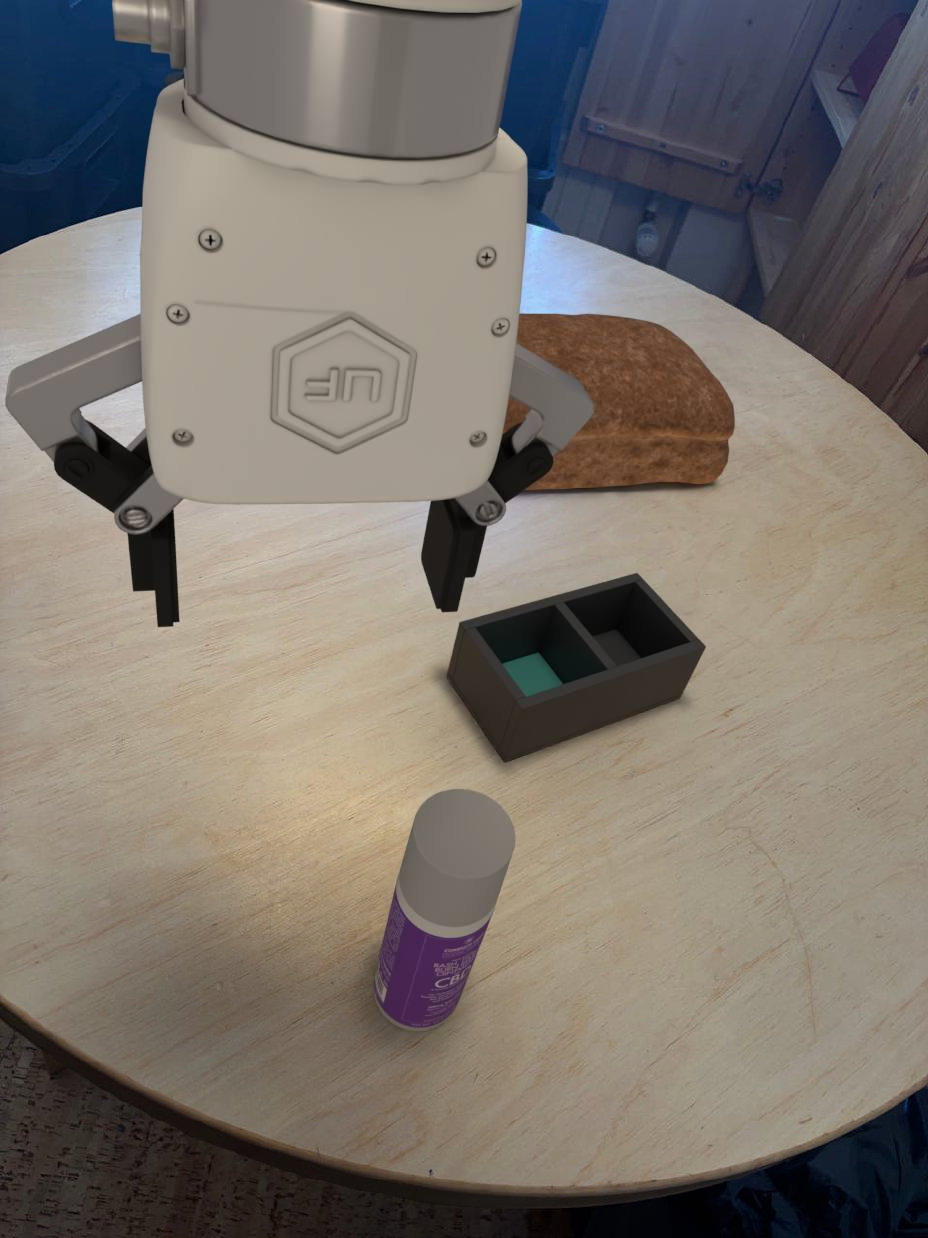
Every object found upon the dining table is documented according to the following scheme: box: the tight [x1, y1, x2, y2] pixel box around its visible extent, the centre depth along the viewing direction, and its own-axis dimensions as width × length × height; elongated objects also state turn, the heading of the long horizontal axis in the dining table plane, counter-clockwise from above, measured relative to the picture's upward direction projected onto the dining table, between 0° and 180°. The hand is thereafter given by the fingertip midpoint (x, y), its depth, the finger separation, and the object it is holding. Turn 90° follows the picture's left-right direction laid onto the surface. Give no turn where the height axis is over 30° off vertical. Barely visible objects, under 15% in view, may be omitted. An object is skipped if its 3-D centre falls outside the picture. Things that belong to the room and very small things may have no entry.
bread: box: [474, 312, 736, 491], centre depth 87 cm, size 17×29×11 cm, turn 106°
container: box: [372, 788, 516, 1032], centre depth 45 cm, size 5×5×15 cm
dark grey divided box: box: [446, 572, 707, 763], centre depth 66 cm, size 8×15×6 cm, turn 119°
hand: (307, 592), depth 34 cm, fingers open, 9 cm apart
